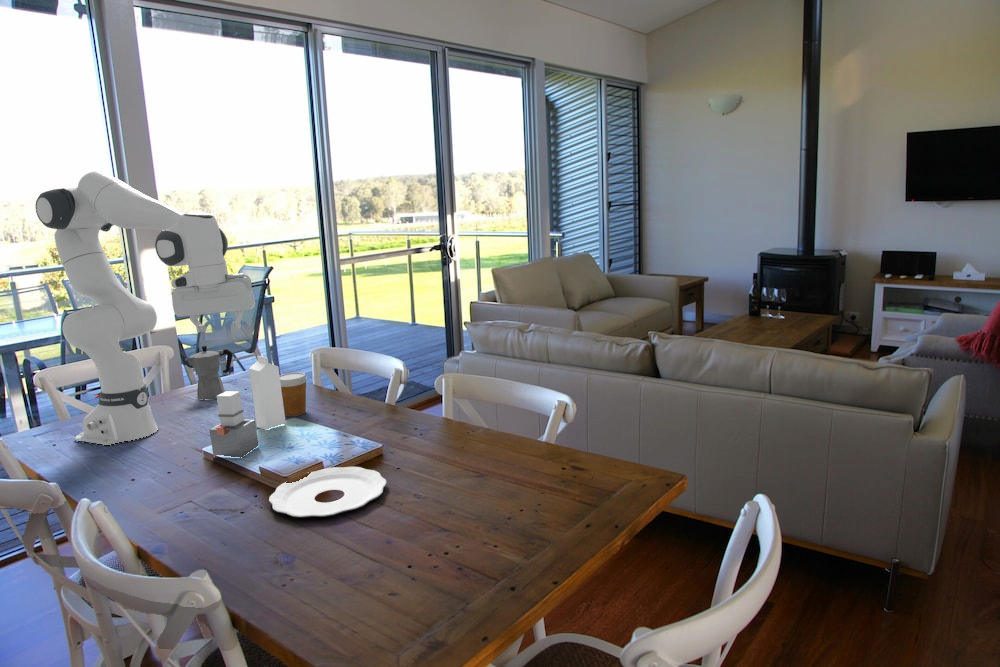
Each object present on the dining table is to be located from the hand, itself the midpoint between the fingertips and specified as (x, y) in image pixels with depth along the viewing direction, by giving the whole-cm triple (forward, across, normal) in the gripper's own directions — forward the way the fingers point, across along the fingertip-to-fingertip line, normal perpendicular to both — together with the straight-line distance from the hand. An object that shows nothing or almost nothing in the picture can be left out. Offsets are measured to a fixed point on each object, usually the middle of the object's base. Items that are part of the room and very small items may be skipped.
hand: (219, 330), depth 175 cm
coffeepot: (+31, +34, -56) cm, 72 cm away
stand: (+33, 0, +2) cm, 33 cm away
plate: (+36, -32, +27) cm, 55 cm away
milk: (+33, -1, -18) cm, 38 cm away
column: (+32, 0, +2) cm, 32 cm away
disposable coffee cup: (+33, -3, -33) cm, 47 cm away
